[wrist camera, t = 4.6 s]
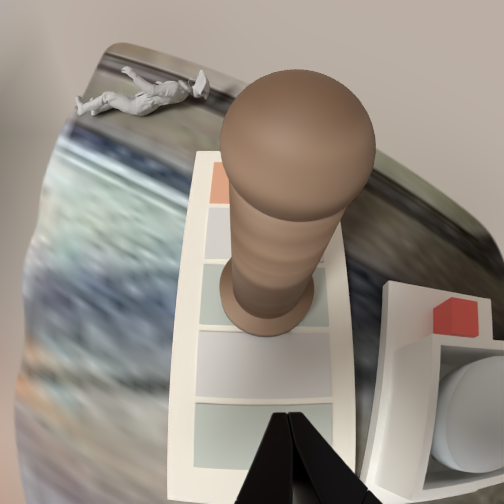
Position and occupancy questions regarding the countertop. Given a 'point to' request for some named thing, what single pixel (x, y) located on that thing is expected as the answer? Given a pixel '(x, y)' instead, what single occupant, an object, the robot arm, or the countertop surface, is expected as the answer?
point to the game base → (421, 390)
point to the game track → (248, 358)
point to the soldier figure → (144, 96)
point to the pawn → (287, 191)
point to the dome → (471, 417)
